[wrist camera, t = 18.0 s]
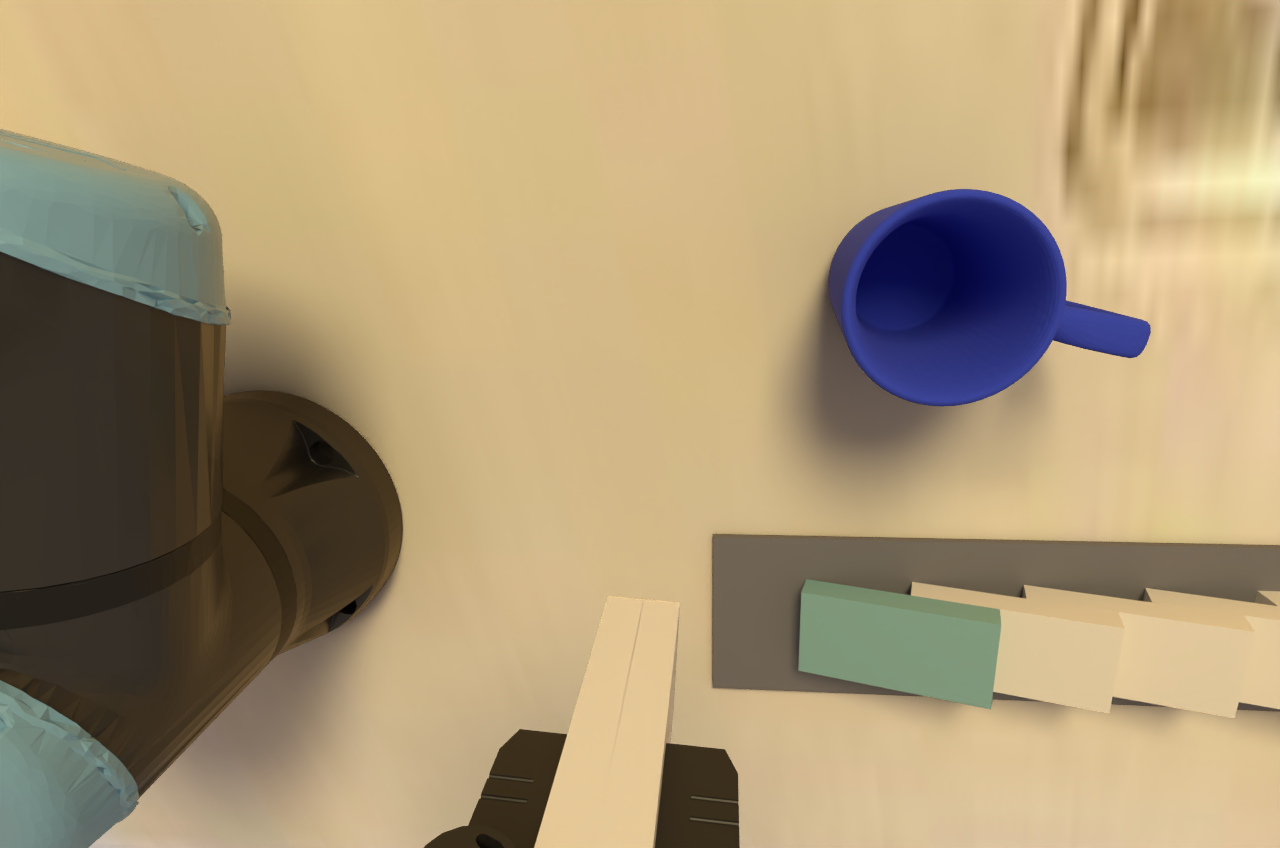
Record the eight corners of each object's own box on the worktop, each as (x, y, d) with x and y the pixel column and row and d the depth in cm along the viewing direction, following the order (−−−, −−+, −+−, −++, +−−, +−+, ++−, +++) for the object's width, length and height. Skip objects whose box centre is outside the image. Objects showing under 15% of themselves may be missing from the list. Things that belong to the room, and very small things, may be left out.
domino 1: (903, 674, 42) (1109, 713, 38) (910, 595, 41) (1124, 628, 37) (905, 658, 43) (1103, 695, 40) (912, 581, 42) (1118, 612, 38)
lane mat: (713, 683, 46) (712, 687, 45) (713, 533, 43) (713, 537, 42) (1319, 708, 42) (1325, 713, 42) (1364, 546, 39) (1370, 550, 39)
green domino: (798, 670, 43) (990, 709, 39) (801, 592, 41) (1001, 625, 38) (803, 655, 44) (989, 691, 40) (806, 578, 43) (999, 609, 39)
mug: (1023, 387, 39) (1122, 449, 29) (793, 337, 39) (817, 382, 30) (1082, 226, 36) (1211, 236, 27) (837, 175, 37) (877, 168, 27)
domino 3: (1136, 683, 41) (1372, 726, 37) (1152, 602, 39) (1399, 637, 36) (1130, 667, 42) (1357, 706, 38) (1145, 587, 41) (1382, 620, 37)
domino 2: (1015, 679, 41) (1234, 718, 38) (1026, 598, 40) (1255, 631, 36) (1013, 662, 43) (1224, 699, 39) (1023, 584, 41) (1243, 615, 38)
